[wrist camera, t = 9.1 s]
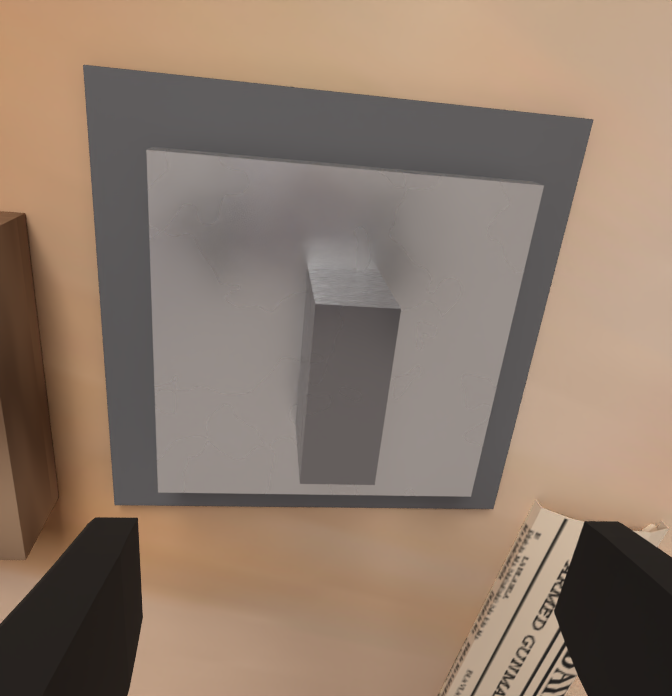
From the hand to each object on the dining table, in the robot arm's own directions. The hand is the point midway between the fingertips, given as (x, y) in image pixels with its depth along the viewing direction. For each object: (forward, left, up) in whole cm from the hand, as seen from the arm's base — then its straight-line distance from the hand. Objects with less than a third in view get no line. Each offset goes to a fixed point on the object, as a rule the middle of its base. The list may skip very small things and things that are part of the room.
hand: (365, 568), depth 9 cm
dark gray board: (0, 0, -10) cm, 10 cm away
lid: (0, 0, -10) cm, 10 cm away
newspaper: (-19, -11, -11) cm, 25 cm away
